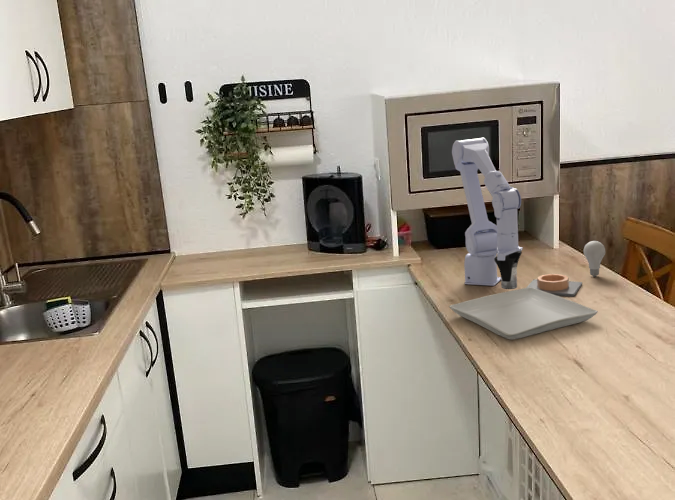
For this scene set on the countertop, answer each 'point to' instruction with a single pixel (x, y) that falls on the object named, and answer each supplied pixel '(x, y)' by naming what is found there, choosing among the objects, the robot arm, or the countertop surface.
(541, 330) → the square plate
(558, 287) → the duct flange
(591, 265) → the lightbulb
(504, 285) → the silver metal cylinder
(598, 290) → the countertop surface
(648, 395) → the countertop surface
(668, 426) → the countertop surface
